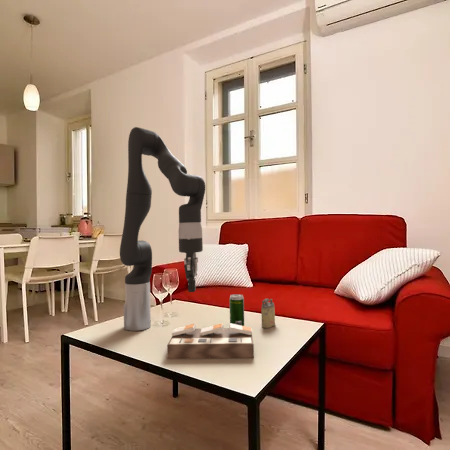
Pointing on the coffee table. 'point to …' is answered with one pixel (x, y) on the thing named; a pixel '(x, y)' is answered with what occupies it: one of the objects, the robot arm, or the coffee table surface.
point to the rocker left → (183, 329)
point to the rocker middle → (212, 329)
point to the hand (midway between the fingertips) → (192, 291)
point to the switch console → (210, 345)
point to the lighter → (268, 313)
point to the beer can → (237, 309)
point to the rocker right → (240, 329)
